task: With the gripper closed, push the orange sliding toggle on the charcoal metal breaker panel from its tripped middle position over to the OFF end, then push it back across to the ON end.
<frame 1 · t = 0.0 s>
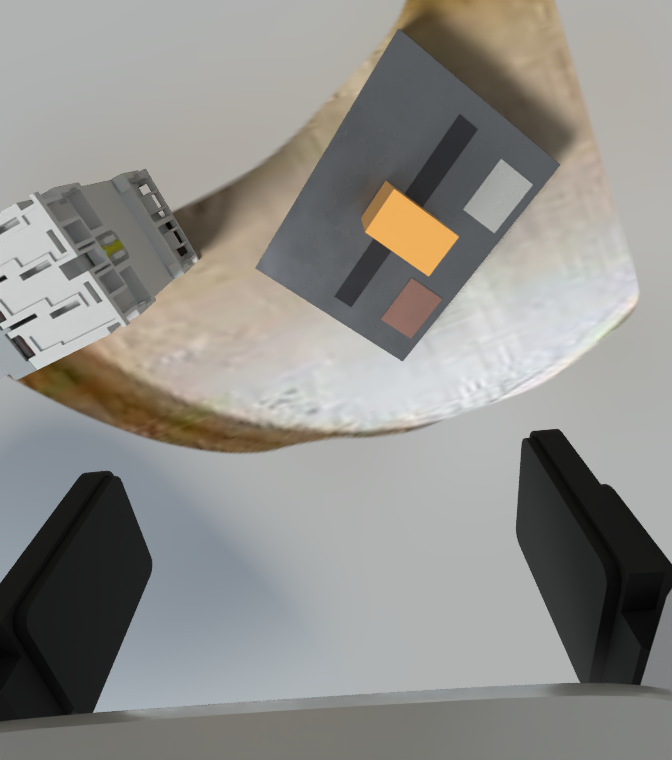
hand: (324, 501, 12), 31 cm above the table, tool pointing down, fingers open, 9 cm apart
breaker panel: (396, 212, 38), on the table
circuit breaker: (100, 254, 40), on the table
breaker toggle: (406, 226, 33), point 6 cm above the table, slide at 0.0 cm
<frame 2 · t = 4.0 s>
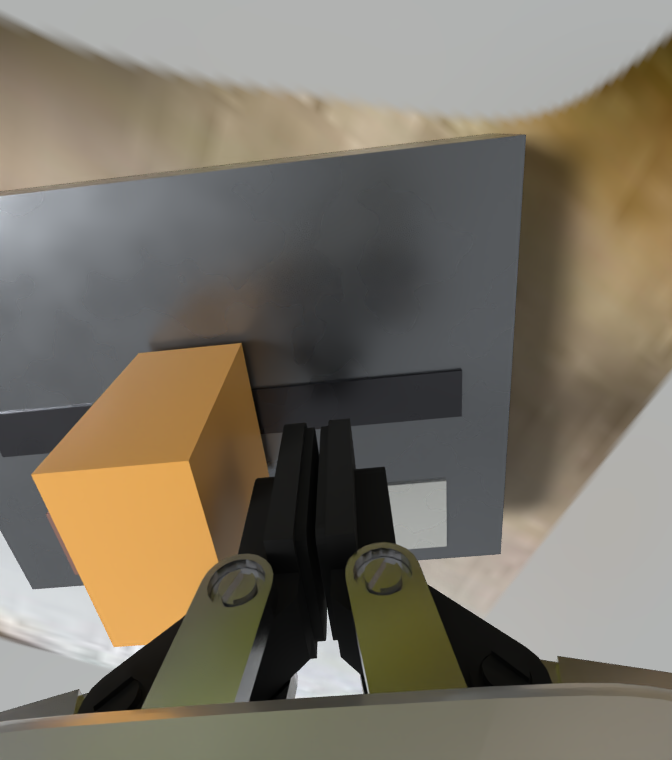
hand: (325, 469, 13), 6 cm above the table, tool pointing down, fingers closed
breaker panel: (239, 372, 18), on the table
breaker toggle: (184, 479, 13), point 6 cm above the table, slide at 0.3 cm, touching gripper
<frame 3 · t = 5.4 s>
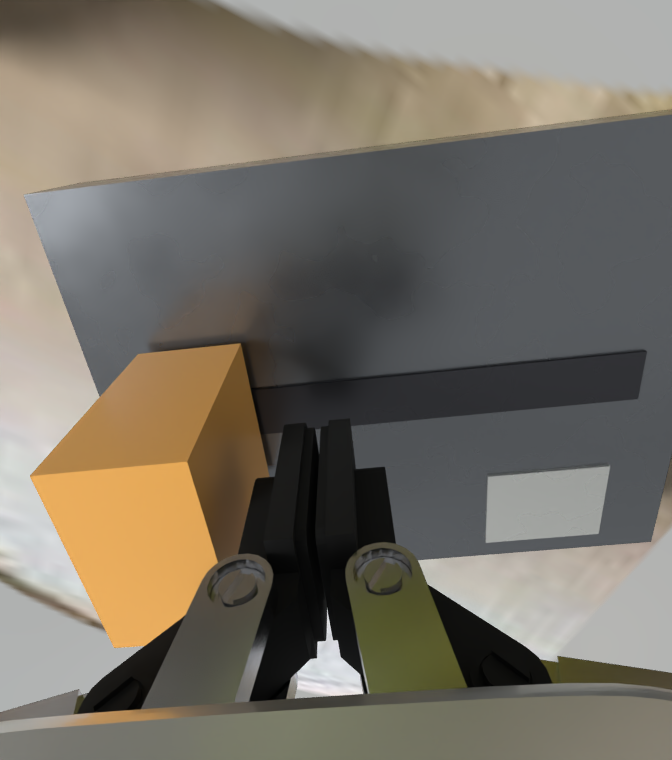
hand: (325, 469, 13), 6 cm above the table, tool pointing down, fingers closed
breaker panel: (384, 358, 18), on the table
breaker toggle: (183, 480, 13), point 6 cm above the table, slide at 5.7 cm, touching gripper
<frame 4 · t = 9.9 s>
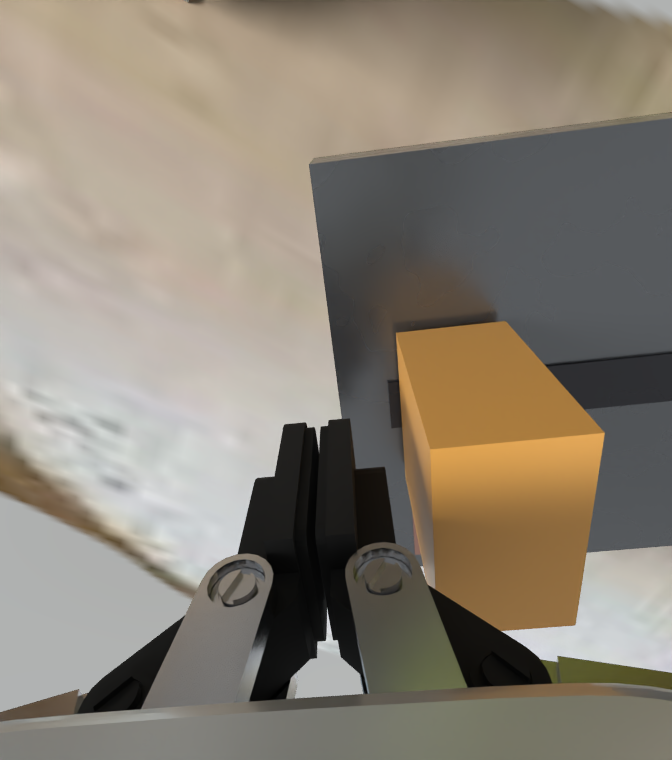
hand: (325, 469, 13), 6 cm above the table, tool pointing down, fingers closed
breaker panel: (593, 341, 17), on the table
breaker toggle: (474, 461, 12), point 6 cm above the table, slide at 5.7 cm, touching gripper
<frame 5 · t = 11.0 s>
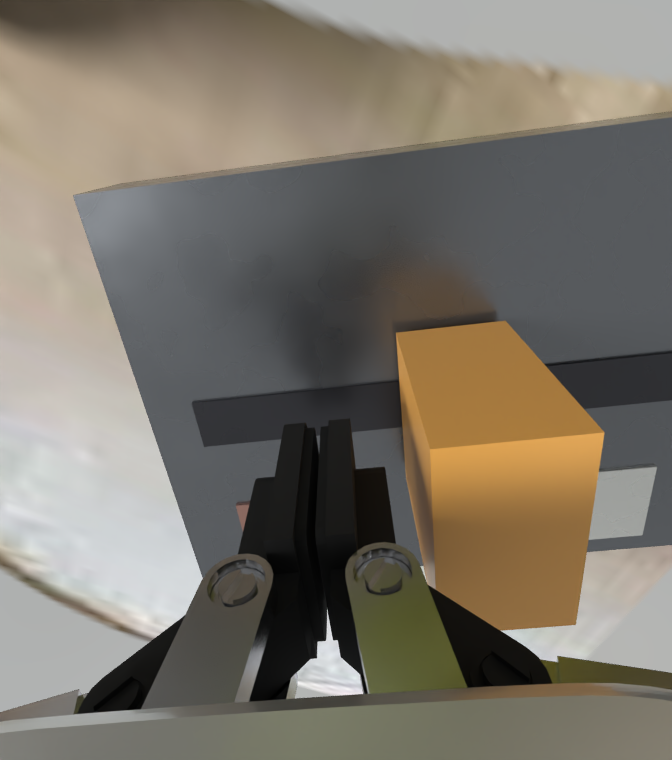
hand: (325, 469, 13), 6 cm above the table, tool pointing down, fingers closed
breaker panel: (423, 358, 18), on the table
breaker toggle: (475, 461, 12), point 6 cm above the table, slide at -0.3 cm, touching gripper
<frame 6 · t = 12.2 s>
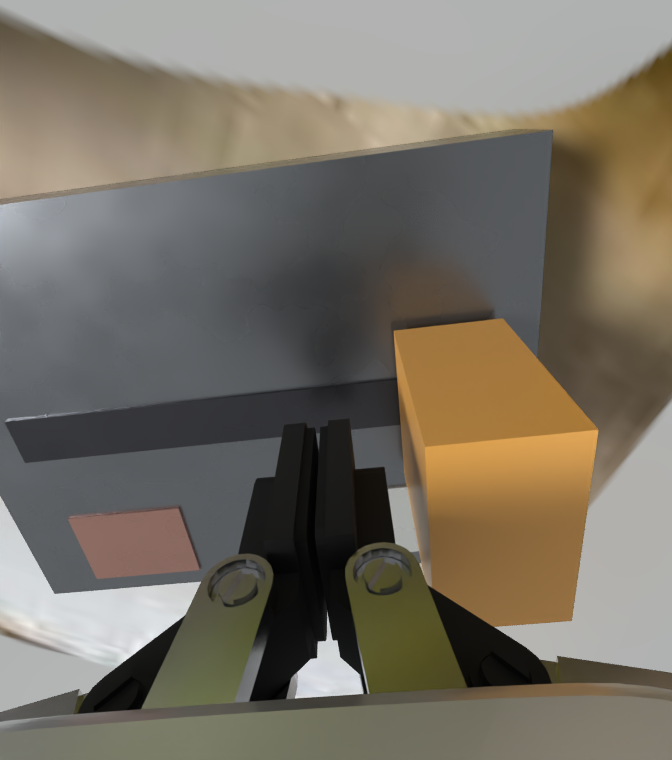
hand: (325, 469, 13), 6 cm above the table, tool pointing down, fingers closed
breaker panel: (258, 374, 18), on the table
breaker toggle: (472, 458, 12), point 6 cm above the table, slide at -6.3 cm, touching gripper
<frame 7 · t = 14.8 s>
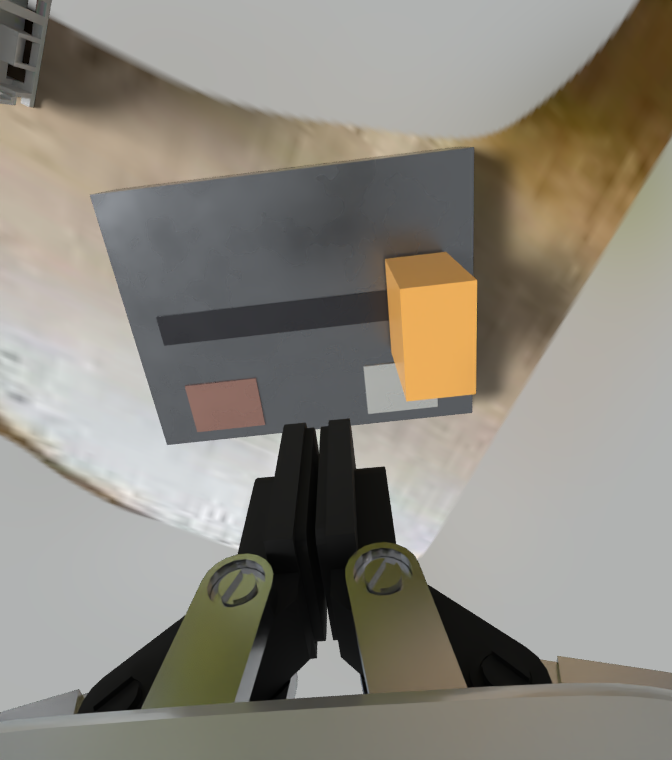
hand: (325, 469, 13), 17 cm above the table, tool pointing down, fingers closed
breaker panel: (303, 298, 29), on the table
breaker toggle: (427, 322, 23), point 6 cm above the table, slide at -6.1 cm
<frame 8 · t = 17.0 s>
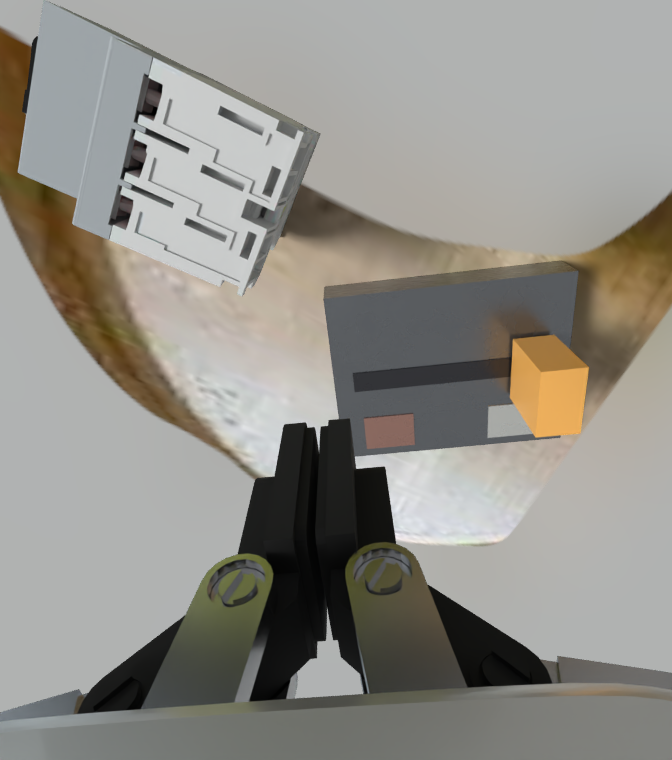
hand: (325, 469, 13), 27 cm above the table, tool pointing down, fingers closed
breaker panel: (442, 357, 41), on the table
circuit breaker: (203, 141, 34), on the table
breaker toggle: (545, 384, 35), point 6 cm above the table, slide at -6.1 cm
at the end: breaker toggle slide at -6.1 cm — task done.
